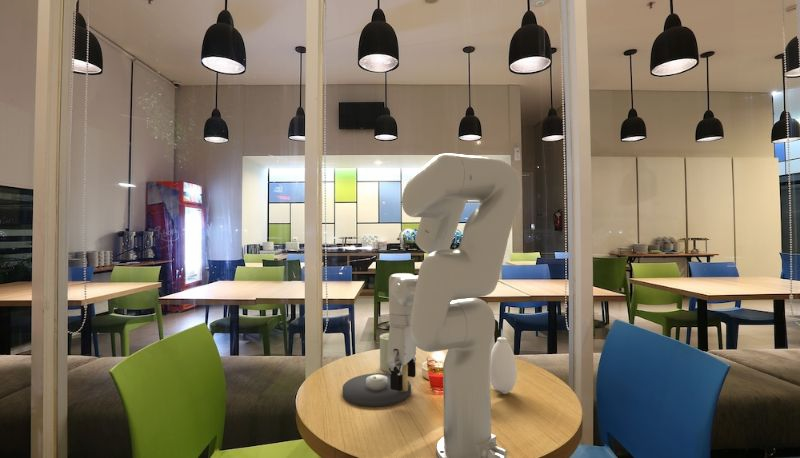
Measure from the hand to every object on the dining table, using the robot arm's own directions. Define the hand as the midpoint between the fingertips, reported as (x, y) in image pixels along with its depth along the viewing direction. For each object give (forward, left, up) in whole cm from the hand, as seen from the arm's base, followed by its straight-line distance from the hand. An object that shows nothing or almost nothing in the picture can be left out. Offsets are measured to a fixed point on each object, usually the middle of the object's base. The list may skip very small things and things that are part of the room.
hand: (403, 382), depth 100 cm
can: (+18, -13, -5) cm, 23 cm away
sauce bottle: (-16, -24, -5) cm, 29 cm away
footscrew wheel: (+7, +3, -3) cm, 9 cm away
